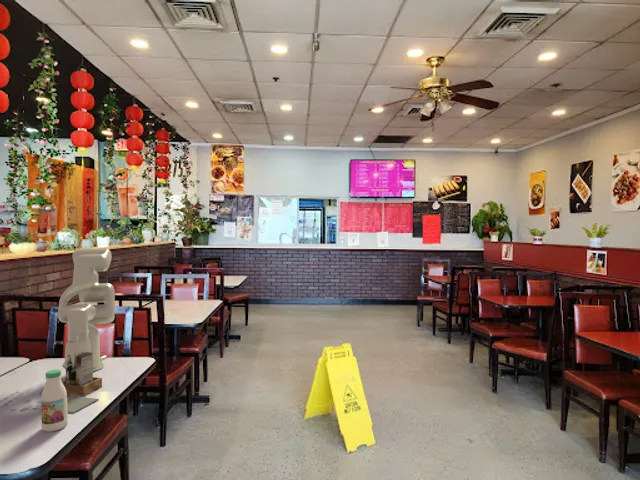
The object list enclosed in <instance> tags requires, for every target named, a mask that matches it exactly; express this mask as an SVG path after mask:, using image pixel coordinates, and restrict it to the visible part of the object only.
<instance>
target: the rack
mask: <svg viewBox="0 0 640 480" xmlns="http://www.w3.org/2000/svg"><path fill="white" fill-rule="evenodd" d="M102 379H103V378H102V377H99V376H98V377H96V376H93V382H91V383H88V384H86V385H84V386H76V385H67V384H66V379H65V380H62V383H63V385H64V387H65V389H66V393H67V396H68V395H70V396H77V397H85V396H87V395H88V394H90V393H92V392H93V393H94V392H95V391H96V390H99V389H102V387H103V380H102Z"/></svg>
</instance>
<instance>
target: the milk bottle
mask: <svg viewBox="0 0 640 480" xmlns="http://www.w3.org/2000/svg"><path fill="white" fill-rule="evenodd" d="M61 377H62V370H61V369H51V370H49V371H46V373H45V380H46V382H45V385H44V388H43V390H42V391H41V392H42V393H41V397H40V400H41V401H40V406H41V407H40V408H41V409H40V411H41V414H40V415H41V429H42V431H43V432H46V433H49V432H50V433H51V432H56V431H59V430H62V429H64V428H65V427H67V426H68V423H69V419H68V417H69V416H68V415H69V413H68V411H67V399H68V395H67V393H66V389H65V387H64V385H63V383H62V382H63V380H62V379H61Z"/></svg>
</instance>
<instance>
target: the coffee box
mask: <svg viewBox="0 0 640 480" xmlns="http://www.w3.org/2000/svg"><path fill="white" fill-rule="evenodd" d="M71 364H72V362H71ZM68 366H69V364H68ZM72 367H73V366H71V368H72ZM75 371H76V381H69V372H67V370H66V369H65V380H66V384H67V385H76V386H84V385H86V384H88V383H91V382H93V377H94V371H93V354H92V353H90V352H88V353H85V354H82V355H80V356H77V364H76V365H75Z"/></svg>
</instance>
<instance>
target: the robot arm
mask: <svg viewBox="0 0 640 480" xmlns="http://www.w3.org/2000/svg"><path fill="white" fill-rule="evenodd" d="M112 255H113V254H112V251H111V249H109V248H80V249H76V250H74V251H73V253H72V261H73V265H74V266H73V273H72V275H73V276H72V284H71V285H69V286H68V287H67V288H66V289H65V290H64V292H63V293H62V294H61V296H60V298H59V302H58V309H57V310H58V311H57V318H58V320H59V321H60V322H61V323H67V341H66V343H65V349H64V350H65V351H64V362H63V363H62V365H61V366H62V367H63V369H65V371H66V370H67V372H69V381H76V371H75V365H76V364H77V356H80V355H82V354H85V353H88V352H90V353H92V354H93V372H96V371H99V370H101V369H104V367H105V364H104V363H103V361H104V360H107V359H108V357H107V355H103V356H101V349H100V348H101V345H100V343H101V342H100V331H99V330H98V328H97V327H96V326H95V325H104V324H109V323H110V324H111V323H113V322H114V321H115V317H116V316H115V315H116V310H115V309H116V302H115V301H116V299H115V298H116V295H115V294H116V293H115V292H116V291H115V287H114V285H113V284H111V283H108V282H105V283H99V273H98V272H106V271H108V270H109V268H110V266H111V262H112V258H113V257H112ZM77 295H78V299H79V301H80V302H81V304H68V303H69V301H70V300H71V299H72V298H73V297H75V296H77ZM95 303H102V304H95ZM103 303H104V304H103ZM71 362H72V364H71ZM68 364H69V366H68ZM71 366H73V367H72V368H71Z"/></svg>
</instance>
